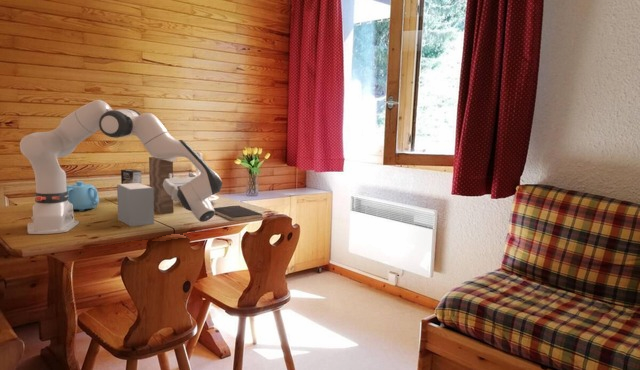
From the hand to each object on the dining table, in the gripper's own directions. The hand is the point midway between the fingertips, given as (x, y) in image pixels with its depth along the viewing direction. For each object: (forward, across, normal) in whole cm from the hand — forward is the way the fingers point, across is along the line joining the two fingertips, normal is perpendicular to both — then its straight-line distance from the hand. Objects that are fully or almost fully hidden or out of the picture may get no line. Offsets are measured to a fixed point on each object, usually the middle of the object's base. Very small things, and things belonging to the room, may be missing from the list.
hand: (180, 173), depth 212 cm
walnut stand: (+8, 0, +29) cm, 30 cm away
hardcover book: (-14, -27, +17) cm, 35 cm away
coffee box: (+41, +1, +48) cm, 63 cm away
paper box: (-5, +18, +22) cm, 29 cm away
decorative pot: (+30, +30, +42) cm, 60 cm away
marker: (+17, 0, +4) cm, 18 cm away
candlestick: (+17, -24, +35) cm, 46 cm away
